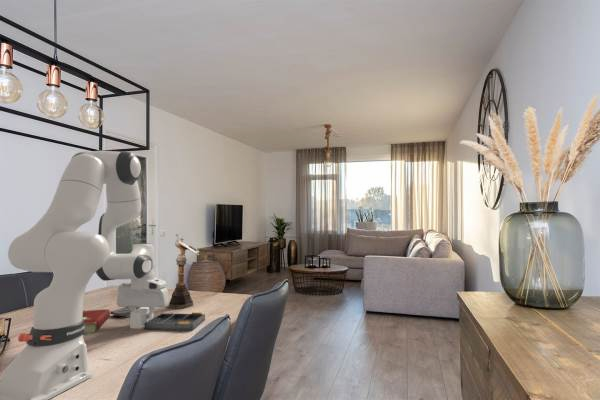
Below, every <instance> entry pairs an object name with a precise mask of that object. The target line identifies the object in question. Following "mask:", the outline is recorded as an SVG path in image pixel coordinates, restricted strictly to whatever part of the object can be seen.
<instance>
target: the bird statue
mask: <svg viewBox="0 0 600 400" xmlns="http://www.w3.org/2000/svg"><path fill="white" fill-rule="evenodd" d="M175 237H176V238H177V239H175V242H174V243H175V244H174V245H175V246H176V248H177V249H179V250H180V253H179V254H177V258H176V259H175V261H176V266H178V267H177V268H178V273H177V276H178V280H177V281H178V282H177V283H176V284H175V288H174V291H172V293H171V298H170V300H169V303H168V309H173V308H174V310H177V309H179V310H180V308H181V309H187V308H191V307H193V306H194V300H193V298H192V297H191V292H190V290H188V287H187V284H186V282H185V279H184V278H185V265H187V260H188V259H187V258H186V251H187V250H190V252H192V253H194V254H195V255H197V256H198V257H199V256H200V250H198V249H197V248H195V247H193V245H187V244H186V243H184V238H183V237H182V236H181V235H180V234H178V233H176V234H175Z"/></svg>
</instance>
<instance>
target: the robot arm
mask: <svg viewBox="0 0 600 400" xmlns="http://www.w3.org/2000/svg"><path fill="white" fill-rule="evenodd" d="M141 174H142V163H141V160H140V159H139V157H138V156H137V155H136V154H135V153H133V152H131V151H116V150H115V151H114V150H113V151H112V150H95V151H81V152H77V153H75V154H74V155H73V156H72V157H71V159H70V161H69V162H68V164H67V165H66V167H65V169H64V170H63V173H62V175H61V178H60V180H59V182H58V185H57V187H56V190H55V193H54V196H53V198H52V201H51V203H50V205H49V207H48V209H47V210H46V212H45V213H44V214H43V215H42V217H41V218H40V219H39V220H38V221H37V222H36V224H34V225H33V226H32V227H31V228H30V229H28V230H27V231H26V232H24V233H23V234H20V235H18V236H17V237H15V238H14V239H13V240H12V242H11V243H10V244H9V247H8V249H7V250H8V251H7V257H8V261H9V262H10V264H11V266H13V267H14V268H15V269H19V270H22V271H27V272H32V273H53V277H52V280H51V282H50V285H49V286H48V287H46V288H44V289H42V290H41V291H40V292H38V293H37V294H36V295H35V297H34V300H33V317H32V318H33V322H32V327H31V328H30V331H29V332H28V333H23V332H21V333H19V335H18V336H17V341H18V342H19V343H22V342H24V343H26V345H25V346H24V347H23V349H22V350H21V351H20V352H19V353H18V354H17V356H16V357H15V358H14V359H13V360H12V361H11V363H10V364H8V366H7V367H6V368H5V369H4V370H3V372H2V374H1V376H0V400H51V399H52V398H54V397H55V396H58V395H59V394H61V393H63V392H65V391H67V390H69V389H71V388H74V387H75V386H77V385H79V384H81V383H83V382H84V381H86V380H88V379H90V378H92V377H93V376H92V375H93V374H92V371H91V370H90V369H89V360H88V350H87V345H86V342H85V339H84V334H85V333H84V328H85V325H84V319H83V311H84V297H85V293H86V288H87V285H88V283H89V282H90V280H91V278H92V277H93V275H94V274H96V275H97V276H98V278H99V279H100V280H102V281H115V280H130V282H128V283H127V282H122V283H121V284H119V285H118V288H117V299H116V305H117V306H118V307H119V308H124V307H131V311H132V312H133V311H135V310H136V308H137V307H149V310H150V312H149V313H148V314H146V316H147V317H146V318H149V319H150V318H152V313H153V311H155V310H156V309H155V307H156V308H160V309H161V308H165V307H167V306H169V302H170V300H169V299H170V298H169V290H168V288H167V286H168V285H167V284H168V283H167V281H166V280H164V279H160V278H157V277H156V273H155V267H156V257H155V256H156V254H155V248H154V247H155V246H154V245H153V244H151V243H145V242H136V243H134V244H133V245H132V250H131V252H130V253H116V252H115V251H114V241H115V240H114V239H115V232H116V230H117V228H119V227H121V226H124V225H126V224H129V223H130V222H133V221H134V220H136V219H137V218H138V217H139V215H140V214H141V212H142V199H141V198H142V197H141V191H140V187H139V182H138V181H139V178H140V177H141ZM104 184H105V185H106V186H105V187H106V188H105V193H106V196H105V197H106V209H105V212H104V213H102V215H101V216H100V218H99V224H98V230H97V231H98V232H97V233H94V232H89V231H88V232H87V231H77V230H78V229H79V228H81V226H83V225H84V224H87V223H88V222H90V221H91V220H93V218H95V216H96V213H97V209H98V207H99V206H98V205H99V202H100V200H101V196H102V191H103V189H104ZM154 309H155V310H154Z"/></svg>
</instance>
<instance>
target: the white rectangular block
mask: <svg viewBox="0 0 600 400" xmlns="http://www.w3.org/2000/svg"><path fill="white" fill-rule="evenodd" d="M154 311H155V310H154ZM154 311H153V313H152V318H154ZM149 312H150V310H149V307H141V308H139V309H137V310H135V311H133V312H131V316H130V317H129V318H130V320H129V321H130V323H129V327H130V329H142V328H143V327H144V323H145V322H147V321H149V320H151V319H152V318H150V319H149V318H146V317H147V316H146V314H148V313H149Z"/></svg>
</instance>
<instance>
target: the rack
mask: <svg viewBox="0 0 600 400" xmlns="http://www.w3.org/2000/svg"><path fill="white" fill-rule="evenodd" d="M205 321H206V314H205V313H203V312H200V311H199V312H197V311H196V312H194V311H193V312H191V313H167V312H166V313H159V314H158V315H156V316H153V318H152V319H151V320H149V321H147V322H145V323H144V326H143V327H144V329H143V330H147V331H148V330H149V331H151V330H152V331H184V332H186V331H189V332H190V331H194V330H195V329H196V328H198V327H199V326H200V325H201V324H203V322H205Z"/></svg>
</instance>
